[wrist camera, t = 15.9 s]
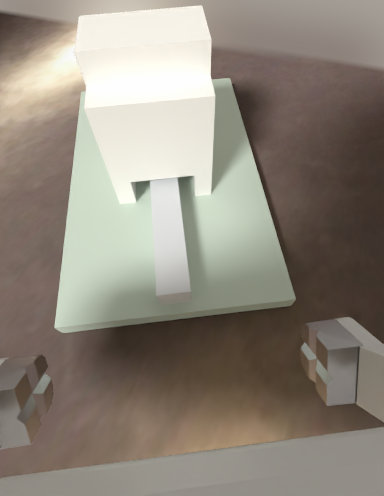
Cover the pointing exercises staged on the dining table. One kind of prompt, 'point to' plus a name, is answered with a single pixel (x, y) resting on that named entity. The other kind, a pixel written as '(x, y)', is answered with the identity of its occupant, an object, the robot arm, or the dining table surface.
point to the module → (149, 95)
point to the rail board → (170, 238)
